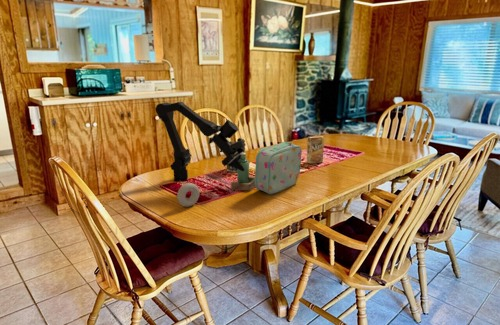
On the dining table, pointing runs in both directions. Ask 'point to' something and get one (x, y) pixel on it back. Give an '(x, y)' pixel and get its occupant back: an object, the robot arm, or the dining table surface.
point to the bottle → (244, 175)
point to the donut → (193, 197)
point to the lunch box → (277, 167)
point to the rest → (244, 185)
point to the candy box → (315, 149)
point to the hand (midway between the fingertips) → (245, 168)
